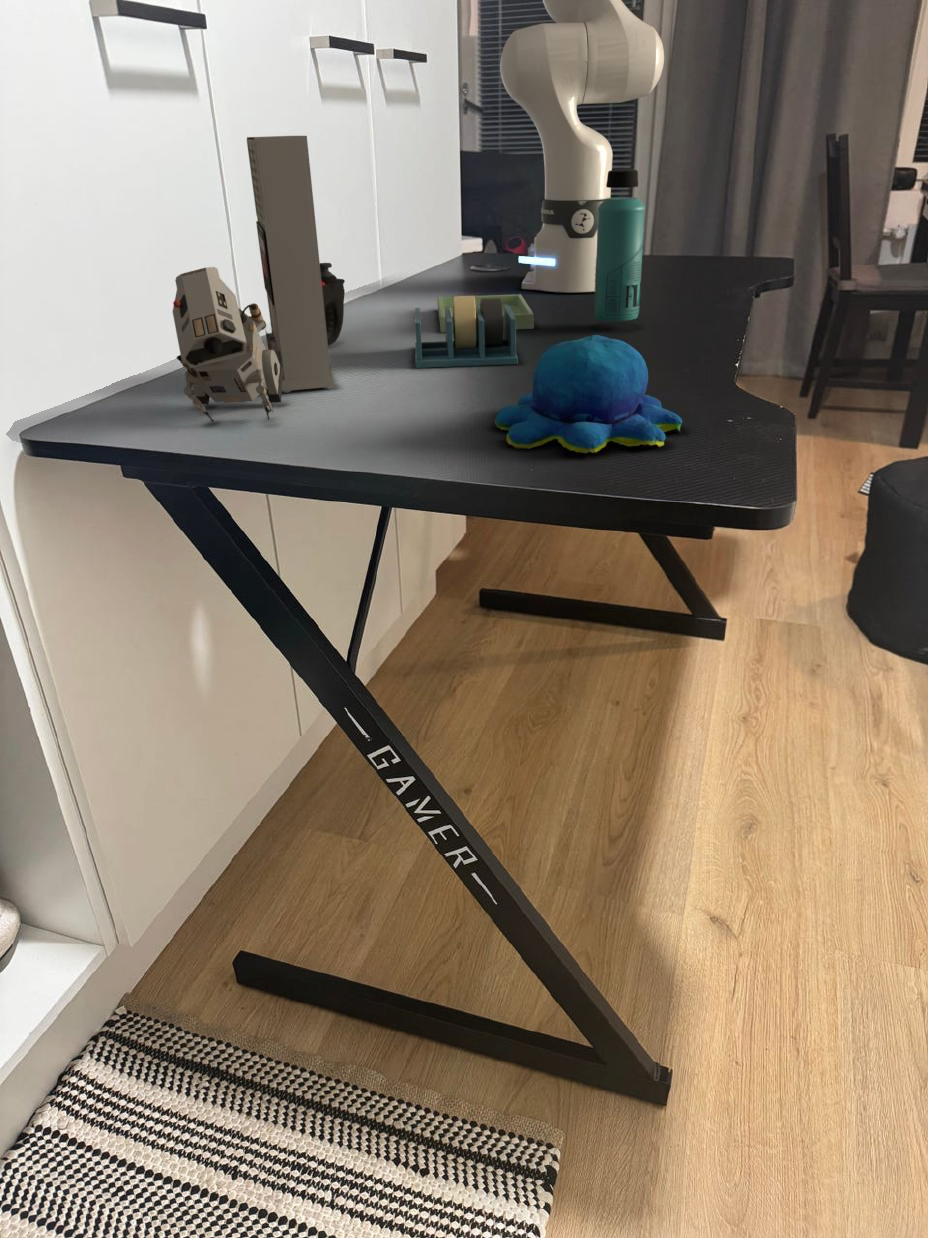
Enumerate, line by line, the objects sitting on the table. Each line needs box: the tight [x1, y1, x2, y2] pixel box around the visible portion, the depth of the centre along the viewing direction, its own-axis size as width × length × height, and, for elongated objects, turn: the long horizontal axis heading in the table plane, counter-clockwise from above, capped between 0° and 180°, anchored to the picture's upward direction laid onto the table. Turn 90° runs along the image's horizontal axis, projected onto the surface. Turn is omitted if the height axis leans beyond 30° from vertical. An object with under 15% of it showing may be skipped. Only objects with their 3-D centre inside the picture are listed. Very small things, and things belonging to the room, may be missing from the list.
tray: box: [437, 293, 535, 333], centre depth 132 cm, size 17×13×2 cm
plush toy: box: [494, 334, 683, 454], centre depth 82 cm, size 17×17×8 cm
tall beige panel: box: [246, 135, 334, 394], centre depth 98 cm, size 14×6×25 cm, turn 15°
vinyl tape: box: [480, 298, 504, 347], centre depth 110 cm, size 6×2×6 cm, turn 4°
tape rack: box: [414, 305, 519, 369], centre depth 110 cm, size 11×12×5 cm
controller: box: [320, 262, 346, 346], centre depth 117 cm, size 4×12×10 cm, turn 163°
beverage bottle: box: [592, 168, 646, 322], centre depth 120 cm, size 6×7×20 cm
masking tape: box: [452, 295, 476, 349], centre depth 110 cm, size 6×3×6 cm, turn 3°
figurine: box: [172, 266, 283, 422], centre depth 87 cm, size 9×12×15 cm
